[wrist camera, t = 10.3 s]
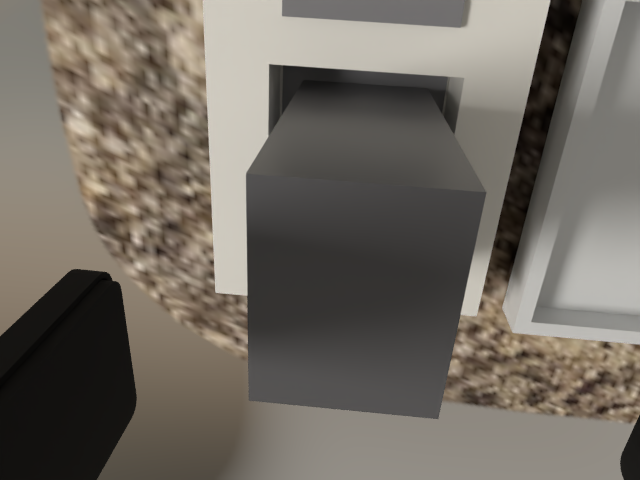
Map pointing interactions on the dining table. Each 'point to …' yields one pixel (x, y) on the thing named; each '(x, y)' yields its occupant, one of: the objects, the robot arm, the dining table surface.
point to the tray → (587, 192)
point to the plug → (358, 250)
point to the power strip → (365, 68)
